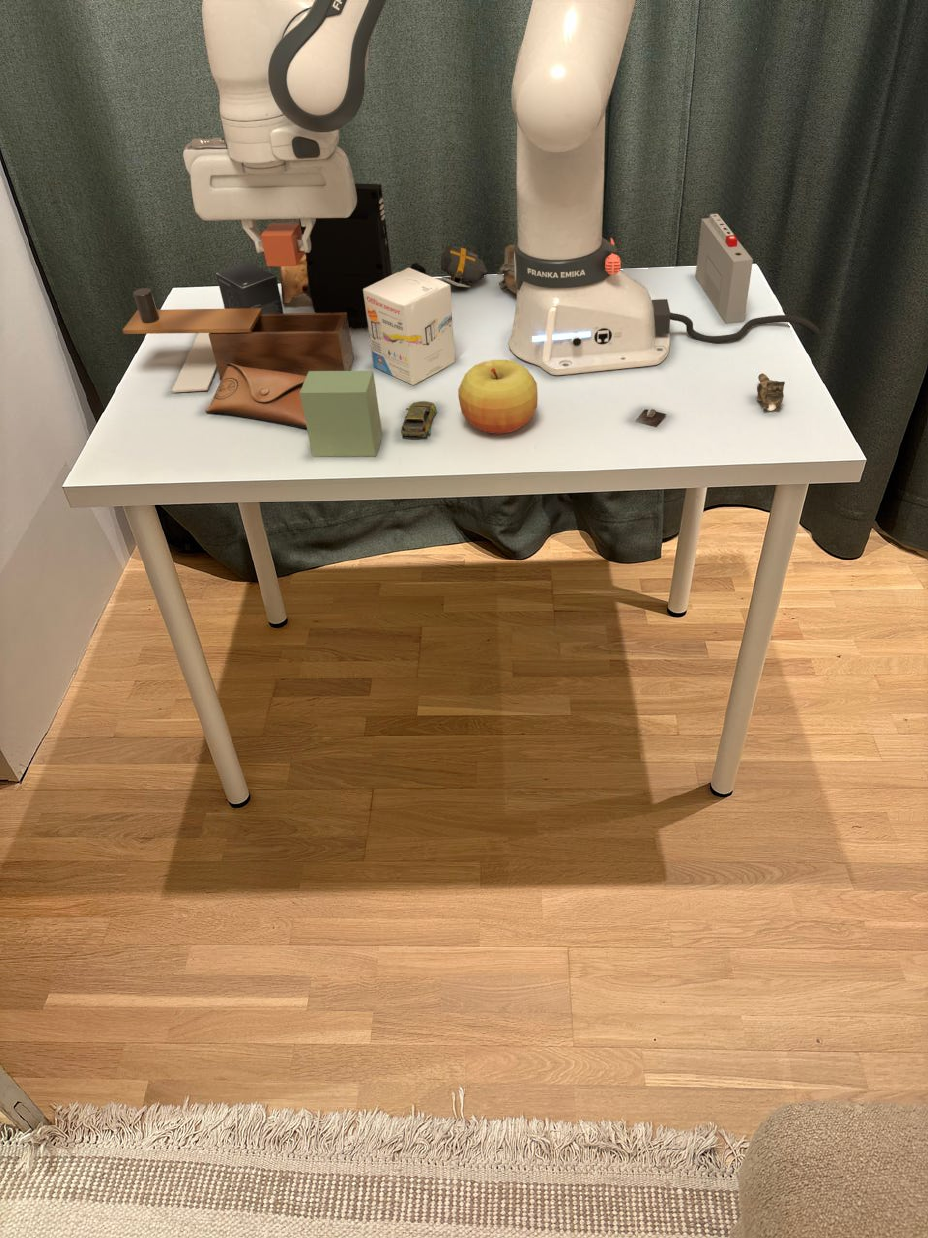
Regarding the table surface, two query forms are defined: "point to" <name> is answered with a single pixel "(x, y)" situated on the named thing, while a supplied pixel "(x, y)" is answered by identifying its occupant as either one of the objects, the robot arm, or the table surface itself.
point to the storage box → (288, 344)
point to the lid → (187, 318)
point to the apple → (498, 396)
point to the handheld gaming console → (349, 257)
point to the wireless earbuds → (418, 268)
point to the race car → (418, 420)
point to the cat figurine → (770, 392)
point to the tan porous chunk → (294, 280)
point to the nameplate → (197, 367)
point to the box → (249, 288)
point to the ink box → (410, 325)
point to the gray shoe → (462, 266)
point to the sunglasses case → (260, 395)
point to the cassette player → (723, 269)
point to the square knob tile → (650, 417)
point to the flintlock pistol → (508, 270)
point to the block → (281, 244)
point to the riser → (341, 413)
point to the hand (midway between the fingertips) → (284, 251)
